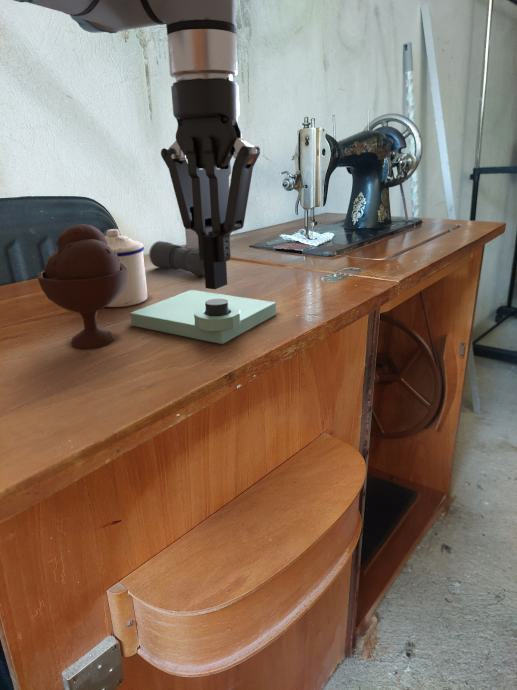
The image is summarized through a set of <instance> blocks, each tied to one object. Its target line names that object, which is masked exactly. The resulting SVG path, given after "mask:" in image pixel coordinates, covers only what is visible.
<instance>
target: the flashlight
mask: <svg viewBox="0 0 517 690" xmlns="http://www.w3.org/2000/svg"><path fill="white" fill-rule="evenodd" d="M148 258H149V261H150V263H151V264H152V265H153V267H156V268H160V269H164V270H169V269H170V270H174V271H178V270H183V271H185V272H187V273H188V272H189V273H190V274H193V275H194V276H197V277H202V278H203V277H204V278H205V272H204V260H201V259H200V257H199V249H187V248H186V247H183V246H182V245H179V244H174V243H173V242H167V241H162V240H158V241H155V242H154V243H152V245H151V246H150V247H149V251H148Z"/></svg>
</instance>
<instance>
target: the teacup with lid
mask: <svg viewBox="0 0 517 690" xmlns="http://www.w3.org/2000/svg"><path fill="white" fill-rule="evenodd" d="M104 236H105V238H106V240H107V245H108V246H109V247H111V249H112V250H113V252H114V251H115V252H116V253H117V255H118V258H119V261H120V263H122V264H124V265H125V266H126V268H127V281H126V283H125V286H124V289H123V291H122V292H121V293H120V294H119V296H118V297H117V298H116V299H115V300H114V301H113V302H111V303H110V304H109V305H108V306H106V307H105V308H123V307H131V306H134V305H138V304H141V303H143V302H145V301H146V300H147V299H148V288H147V277H146V269H145V260H144V259H145V258H144V250H145V247H144V245H143V243H142V242H141V241H137V240H133V239H131V238H129V237H127V236H126V235H121V234H120V230H119V229H117V228H111V229H107V230H106V235H104Z"/></svg>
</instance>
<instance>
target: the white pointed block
mask: <svg viewBox="0 0 517 690" xmlns="http://www.w3.org/2000/svg"><path fill="white" fill-rule="evenodd" d="M184 232H185V245H186V247H185V248H186V249H194V250H196V249H199V245H198V235H197V234H196V232H195V231H193V230H191V229H186V228H185V227H184Z"/></svg>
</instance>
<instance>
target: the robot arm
mask: <svg viewBox="0 0 517 690" xmlns="http://www.w3.org/2000/svg"><path fill="white" fill-rule="evenodd" d="M13 1H14V2H18V3H29V4H31V5H35V6H39V7H42V8H45V9H50V10H54V11H57V12H61V13H63V14H66V15H69V16H70V18H71V19H72V20H73V21H75V22H76V23H77V24H78V25H79V27H80V28H81V29H82V30H83V31H85V32H87V33H93V34H97V33H98V34H99V33H108V34H117V33H118V32H122V31H129V30H136V29H140V28H142V29H143V28H148V27H155V26H163V25H165V26H166V38H167V53H168V55H167V56H168V68H169V69H168V71H169V76H170V77H171V78H172V79H175V82H173V83H172V85H171V86H170V89H171V102H172V115H173V117H174V118H175V120H176V122H177V128H176V132H175V141H174V142H173V143H172V144H171V145H170V146H169V147H163V148H162V149H161V150H160V156H161V158H162V160H163V161H164V163H165V165H166V167H167V169H168V172H169V176H170V179H171V182H172V187H173V191H174V195H175V198H176V203H177V207H178V210H179V214H180V218H181V222H182V225H183V227H184V229H185V228H186V229H191V230H193V231H195V232H196V234H197V235H198V245H199V257H200V259H201V260H204V272H205V277H204V284H205V289H209V290H217V289H220V288H222V287H225V286H227V285H228V271H227V262H228V261H230V259H231V257H232V256H231V234H233V232H236V231H239V230H242V229H243V228H244V224H245V219H246V213H247V207H248V202H249V201H248V200H249V194H250V190H251V189H250V188H251V183H252V176H253V172H254V171H253V170H254V167H255V165H256V163H257V161H258V159H259V156H260V154H261V147H259V146H258V145H252V144H250V143H249V142H247V141H246V140H245V139H244V138H243V137H242V136H243V135H242V131H241V129H240V126H239V123H238V118H239V116H240V92H239V89H240V87H239V84H237V81H234V80H233V78H235V77H237V75H238V73H239V72H238V71H239V70H238V47H237V45H238V44H237V43H238V41H237V26H236V0H13ZM232 159H234V161H233V165H232Z"/></svg>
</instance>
